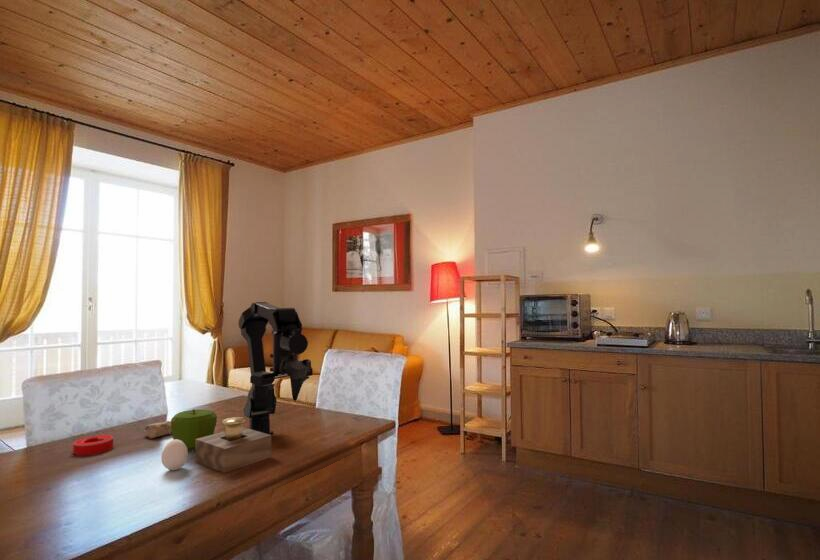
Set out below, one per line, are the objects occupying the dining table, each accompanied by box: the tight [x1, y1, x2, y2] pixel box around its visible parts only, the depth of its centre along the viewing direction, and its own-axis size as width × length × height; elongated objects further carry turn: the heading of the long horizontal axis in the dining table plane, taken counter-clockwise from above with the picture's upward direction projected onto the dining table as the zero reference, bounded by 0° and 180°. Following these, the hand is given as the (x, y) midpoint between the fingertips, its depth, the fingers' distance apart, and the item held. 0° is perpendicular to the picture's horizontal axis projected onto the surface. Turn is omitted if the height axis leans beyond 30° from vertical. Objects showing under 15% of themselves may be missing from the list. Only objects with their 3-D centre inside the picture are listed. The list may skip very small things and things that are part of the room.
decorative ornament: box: [72, 434, 114, 456], centre depth 133 cm, size 10×10×3 cm
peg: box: [221, 416, 246, 441], centre depth 123 cm, size 6×6×6 cm
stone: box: [143, 420, 172, 439], centre depth 147 cm, size 8×10×4 cm
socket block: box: [194, 426, 272, 474], centre depth 123 cm, size 14×14×6 cm
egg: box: [160, 439, 189, 471], centre depth 116 cm, size 6×6×8 cm
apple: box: [170, 408, 218, 452], centre depth 134 cm, size 12×12×11 cm
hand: (282, 403), depth 132 cm, fingers open, 9 cm apart
